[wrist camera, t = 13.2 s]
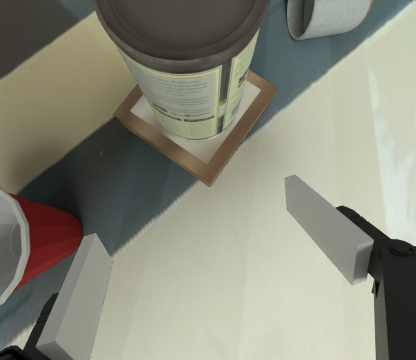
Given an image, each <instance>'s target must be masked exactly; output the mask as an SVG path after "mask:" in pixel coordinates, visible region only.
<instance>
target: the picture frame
mask: <svg viewBox="0 0 416 360" xmlns="http://www.w3.org/2000/svg"><path fill="white" fill-rule="evenodd" d="M277 89H278V88H277V87H275V86H274V85H272V84H271V83H269V82H268V81H266V80H264V79H263V78H261V77H260V76H258V75H257V74H255V73H253V72H252V71H250V70H249V71H248V75H247V78H246V82H245V86H244V90H243V94H242V97H241V101H240V107H239V111H238V114H237V117H236V119H235V121H234V122H233V124H232V125H231V126H230V128H229V129H228V130H227V131H225V132H224V133H223V134H221V135H220V136H218V137H216V138H214V139H212V140H208V141H203V142H188V141H184V140H180V139H178V138H176V137H174V136H172V135H171V134H169V133H168V132H167V131H165V130H164V128H163V127H162V126H161V125H160V123H159V122H158V120H157V118H156V116H155V113H154V111H153V110H152V108H151V106H150V104H149V103H148V101H147V99H146V97H145V96H144V94H143V92H142V91H141V89H140V87H139V85H138V84H137V86H136V87H135V88H134V89H133V91H132V92H131V93H130V94H129V95H128V97H127V98H126V99H125V100H124V102H123V103H122V104H121V105H120V107H119V108H118V109H117V110H116V111H115V113H114V114H113V115H114V116H115V117H116V118H117V119H118V120H119V122H120V123H121V124H122V125H123V126H124V127H125V128H127V129H128V130H130V131H131V132H132V133H134V134H135V135H137V136H138V137H140V138H141V139H142V140H144V141H145V142H147V143H148V144H149V145H151V146H152V147H154V148H155V149H156V150H158V151H159V152H161V153H162V154H164V155H165V156H166V157H168V158H169V159H171V160H172V161H173V162H175V163H176V164H178V165H179V166H181V167H182V168H183V169H185V170H186V171H188V172H189V173H190V174H192V175H193V176H195V177H196V178H198V179H199V180H200V181H202V182H203V183H205V184H206V185H207V186H209V187H210V186H211V185H212V184H213V182H214V181H215V179H216V178H217V177H218V175H219V174H220V172H221V171H222V170H223V168H224V167H225V165H226V164H227V163H228V161H229V160H230V158H231V157H232V156H233V154H234V153H235V151H236V150H237V149H238V147H239V146H240V144H241V143H242V142H243V140H244V139H245V137H246V136H247V135H248V133H249V132H250V130H251V129H252V128H253V126H254V125H255V123H256V122H257V121H258V119H259V118H260V116H261V115H262V114H263V112H264V111H265V110H266V108H267V107H268V105H269V104H270V102H271V100H272V98H273V97H274V95H275V93H276V91H277Z"/></svg>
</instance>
